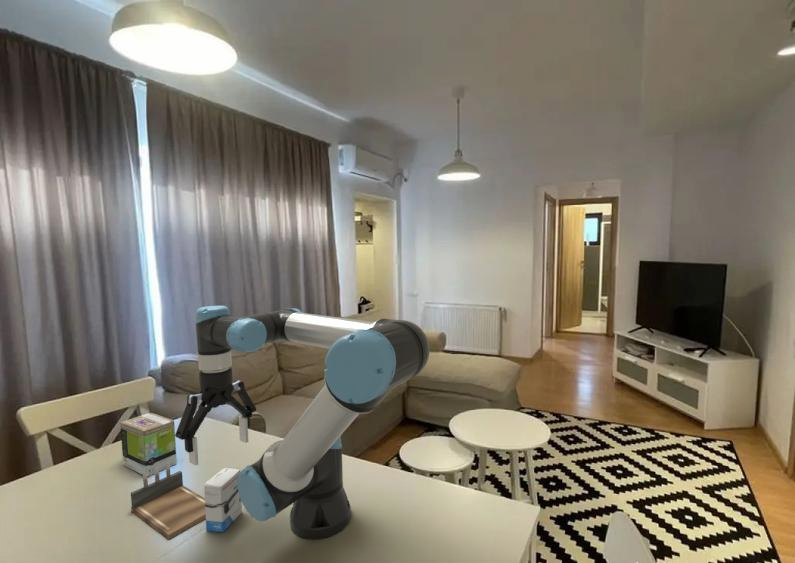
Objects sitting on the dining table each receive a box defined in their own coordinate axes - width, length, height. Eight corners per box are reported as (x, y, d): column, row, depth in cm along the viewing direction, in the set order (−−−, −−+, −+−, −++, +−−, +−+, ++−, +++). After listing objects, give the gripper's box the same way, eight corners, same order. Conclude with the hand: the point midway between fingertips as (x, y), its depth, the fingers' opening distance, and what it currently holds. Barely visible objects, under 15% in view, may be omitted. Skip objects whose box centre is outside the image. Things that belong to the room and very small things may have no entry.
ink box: (223, 533, 101) (220, 486, 100) (205, 531, 102) (202, 484, 101) (243, 511, 109) (240, 468, 108) (226, 509, 110) (223, 466, 110)
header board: (219, 511, 110) (217, 477, 109) (168, 539, 99) (166, 502, 99) (180, 487, 121) (178, 457, 121) (131, 511, 111) (128, 477, 110)
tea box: (178, 463, 136) (175, 419, 134) (146, 478, 127) (142, 431, 126) (153, 452, 144) (150, 410, 142) (122, 465, 135) (118, 421, 134)
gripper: (250, 355, 115) (253, 429, 117) (155, 379, 95) (161, 469, 96) (267, 359, 111) (270, 436, 112) (171, 385, 90) (177, 479, 92)
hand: (220, 451), depth 104 cm, fingers open, 13 cm apart
